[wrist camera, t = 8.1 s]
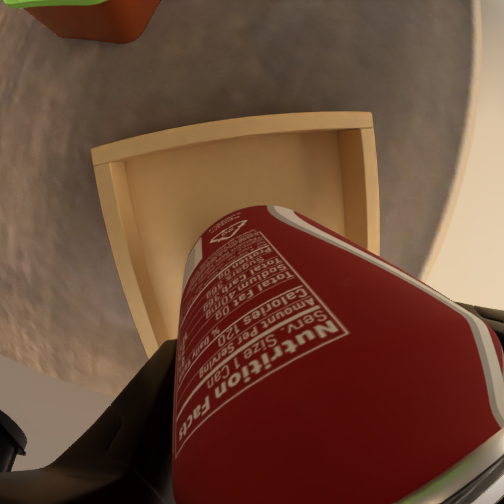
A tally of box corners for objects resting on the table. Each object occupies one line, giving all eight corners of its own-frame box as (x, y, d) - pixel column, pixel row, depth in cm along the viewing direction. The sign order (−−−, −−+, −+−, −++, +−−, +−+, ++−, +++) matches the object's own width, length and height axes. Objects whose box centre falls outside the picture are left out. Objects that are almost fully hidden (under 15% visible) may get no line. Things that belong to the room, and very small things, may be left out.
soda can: (165, 316, 13) (146, 594, 2) (217, 178, 12) (474, 395, 1) (290, 351, 15) (395, 555, 4) (349, 235, 14) (576, 379, 2)
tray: (352, 328, 19) (372, 351, 16) (168, 369, 17) (166, 400, 15) (344, 117, 15) (372, 111, 12) (109, 149, 13) (89, 148, 10)
